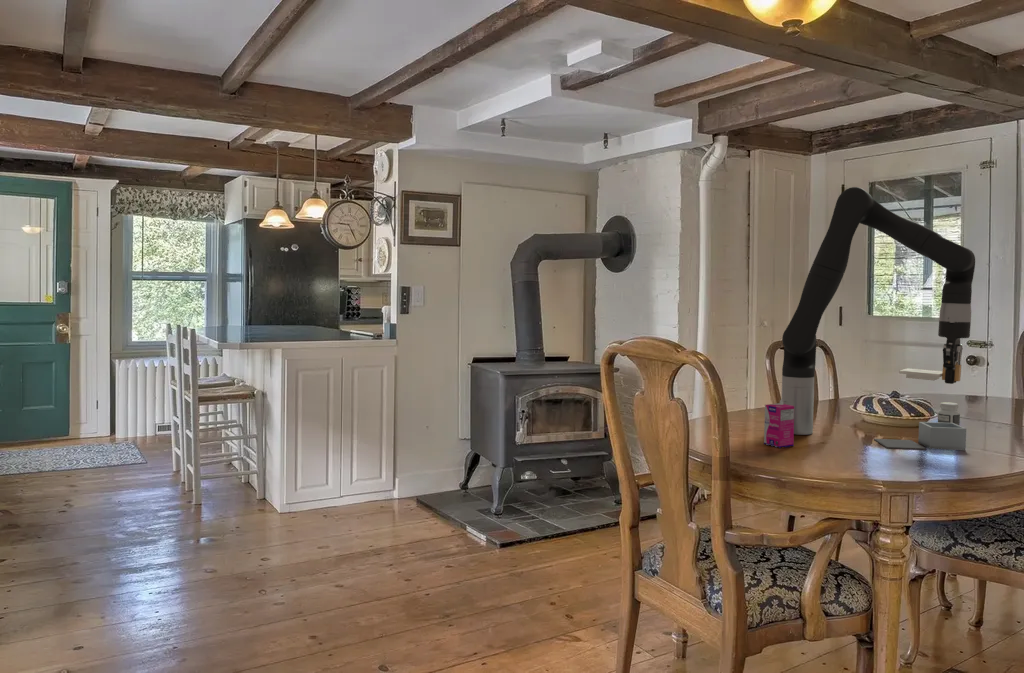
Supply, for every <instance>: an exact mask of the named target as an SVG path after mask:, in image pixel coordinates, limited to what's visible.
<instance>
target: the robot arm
mask: <svg viewBox="0 0 1024 673" xmlns="http://www.w3.org/2000/svg"><path fill="white" fill-rule="evenodd" d="M860 224H862V225H865V226H867V227H870V228H872V229H875V230H877V231H878V232H881V233H883V234H884V235H886V236H888V237H889V238H891V239H893V240H894V241H896V242H898V243H899V244H901V245H902V246H904V247H906V248H908V250H909V249H910V250H911V251H913V252H915V253H916V254H917V253H918V254H919V255H921V256H924V257H925V258H928V259H930V260H931V261H933V262H934V263H935V264H938V265H939V266H941V267H942V268H944V269H945V281H944V284H943V286H942V290H941V304H940V309H939V317H938V318H939V319H938V331H937V332H938V333H937V335H938V337H940V338H946V342H945V343H944V344H943V348H942V360H943V362H942V368H943V367H944V368H945V369H946V370H945V380H944V384H949V385H952V384H953V385H954V384H956V383H957V382H958V381H954V380H955V369H956V364H959V365H961V360H962V355H963V349H964V348H963V344H961V339H969V338H970V336H971V323H972V294H973V293H972V285H973V280H974V275H975V268H976V256H975V253H974V252H973V251H972V250H971V249H969V248H968V247H964V246H962V245H960V244H958V243H956V242H954V241H951V240H949V239H948V238H945V237H943V236H942V235H941V234H939V233H938V232H937V231H934V230H932V229H931V228H928V227H927V226H925V225H923V224H920V223H918V222H917V221H914V220H912V219H909V218H907V217H905V216H904V217H903V216H901V215H900V214H897V213H896V212H893V211H891V210H890V209H888V208H887V207H885V206H884V205H882V204H881V203H880V202H879V201H877V200H876V199H874V198H873V197H872V195H871V194H870V193H869V192H868V191H866V190H865V189H863V188H862V187H858V186H852V187H848V188H847V189H845V190H844V191H842V192H841V193H840V194H839V196H838V198H837V200H836V202H835V205H834V209H833V213H832V217H831V220H830V223H829V227H828V229H827V232H826V234H825V236H824V238H823V240H822V242H821V244H820V247H819V249H818V251H817V253H816V255H815V258H814V260H813V262H812V264H811V266H810V269H809V272H808V274H807V277H806V279H805V283H804V286H803V289H802V293H801V295H800V299H799V302H798V305H797V308H796V310H795V311H794V314H793V316H792V317H791V320H790V321H789V323H788V325H787V326H786V329H785V330H784V331H783V333H782V338H781V339H782V341H781V342H782V345H783V361H782V368H781V370H782V371H781V376H782V377H781V399H779V403H781V404H786V405H791V406H794V435H800V436H801V435H812V434H813V432H814V404H815V402H814V400H815V398H814V397H815V373H816V359H817V331H818V328H819V325H820V323H821V319H822V316H823V315H824V312H825V310H826V309H827V308H828V306H829V304H830V303H831V301H832V299H833V298H834V296H835V295H836V292H837V290H838V289H839V286H840V285H841V282H842V280H843V277H844V275H845V272H846V270H847V266H848V264H849V259H850V252H851V248H852V247H851V245H852V242H853V238H854V235H855V234H856V231H857V229H858V227H859V225H860Z"/></svg>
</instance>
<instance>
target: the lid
mask: <svg viewBox="0 0 1024 673" xmlns="http://www.w3.org/2000/svg"><path fill="white" fill-rule="evenodd" d="M945 370H946V369H945V368H944V367H943V366H942V370H931V369H921V368H920V369H919V368H911V367H907V368H904V369H899V372H898V373H899V374H903V375H905V378H906V379H915V380H924V381H937V380H939V379H940V378H941V380H942V381H945ZM961 373H962V364H960V365H959V364H956V369H955V380H954V381H957V382H960V381H961V375H962V374H961Z"/></svg>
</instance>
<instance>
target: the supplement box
mask: <svg viewBox="0 0 1024 673" xmlns="http://www.w3.org/2000/svg"><path fill="white" fill-rule="evenodd" d="M763 425H764V428H763V431H764V432H763V433H764V434H763V445H765V444H766V446H769V445H771V446H770V447H773V446H775V447H774V448H777V447H779V448H778V449H782V448H781V447H785V448H791V447H790V446H793V447H794V444H795V442H794V441H795V440H794V438H795V436H794V435H795V434H794V406H791V405H786V404H781V403H780V402H778V403H767V404H764V424H763Z"/></svg>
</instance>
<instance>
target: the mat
mask: <svg viewBox="0 0 1024 673" xmlns="http://www.w3.org/2000/svg"><path fill="white" fill-rule="evenodd" d="M873 440H874V441H875V442H876V443H878V444H879V445H881V446H883V447H884V448H885V449H893V450H894V449H896V450H897V449H899V450H920V451H925V450H927V447H925V446H924V445H922V444H920V443H917V442H915V441H914V440H912V439H891V438H890V439H889V438H874V439H873Z"/></svg>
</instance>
